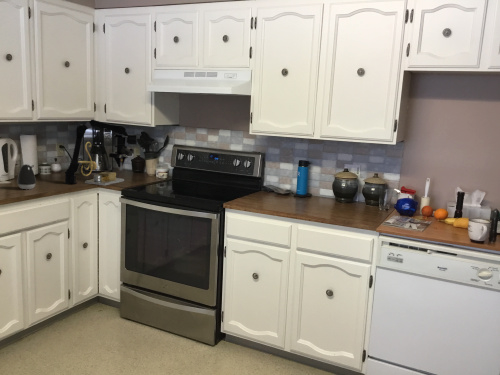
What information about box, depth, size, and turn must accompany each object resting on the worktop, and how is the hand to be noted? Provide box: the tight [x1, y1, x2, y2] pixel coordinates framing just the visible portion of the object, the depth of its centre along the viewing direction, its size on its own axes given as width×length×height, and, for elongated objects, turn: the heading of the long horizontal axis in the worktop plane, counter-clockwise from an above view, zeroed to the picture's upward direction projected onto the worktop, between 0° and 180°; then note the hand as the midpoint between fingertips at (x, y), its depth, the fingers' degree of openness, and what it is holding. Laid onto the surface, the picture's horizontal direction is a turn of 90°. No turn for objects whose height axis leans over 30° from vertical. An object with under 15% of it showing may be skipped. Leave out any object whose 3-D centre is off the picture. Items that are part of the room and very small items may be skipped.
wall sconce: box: [78, 141, 98, 177], centre depth 337 cm, size 14×10×25 cm
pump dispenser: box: [17, 163, 37, 191], centre depth 280 cm, size 10×10×15 cm
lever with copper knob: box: [118, 159, 123, 172], centre depth 312 cm, size 3×3×8 cm
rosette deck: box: [84, 171, 125, 186], centre depth 318 cm, size 22×16×6 cm
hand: (120, 167), depth 313 cm, fingers closed on lever with copper knob, 2 cm apart
